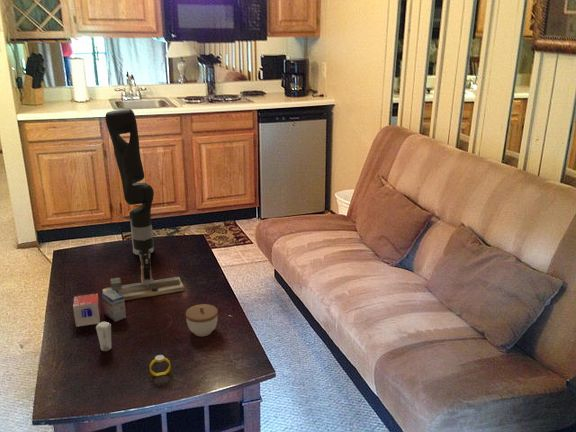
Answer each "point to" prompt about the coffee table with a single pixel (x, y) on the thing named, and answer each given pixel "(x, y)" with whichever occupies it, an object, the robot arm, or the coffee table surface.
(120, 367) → the coffee table surface
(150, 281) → the block
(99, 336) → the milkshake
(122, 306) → the medicine box
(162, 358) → the gold diamond ring
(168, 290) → the bolt-hole plate
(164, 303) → the coffee table surface
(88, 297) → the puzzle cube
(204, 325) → the lidded jar
